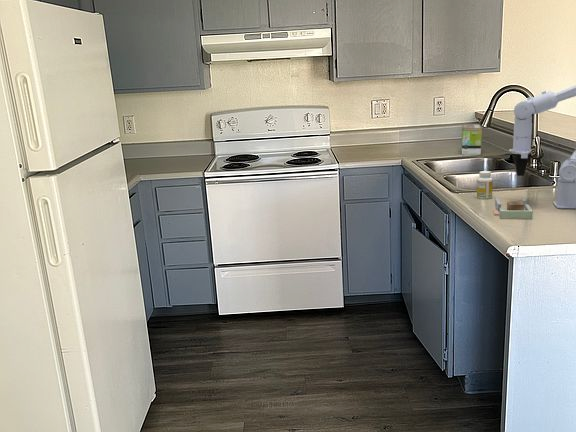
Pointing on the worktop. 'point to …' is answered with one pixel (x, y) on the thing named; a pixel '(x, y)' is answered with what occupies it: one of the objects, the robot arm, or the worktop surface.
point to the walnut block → (515, 205)
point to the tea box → (471, 139)
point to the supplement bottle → (484, 185)
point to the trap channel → (513, 211)
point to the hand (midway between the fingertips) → (520, 175)
